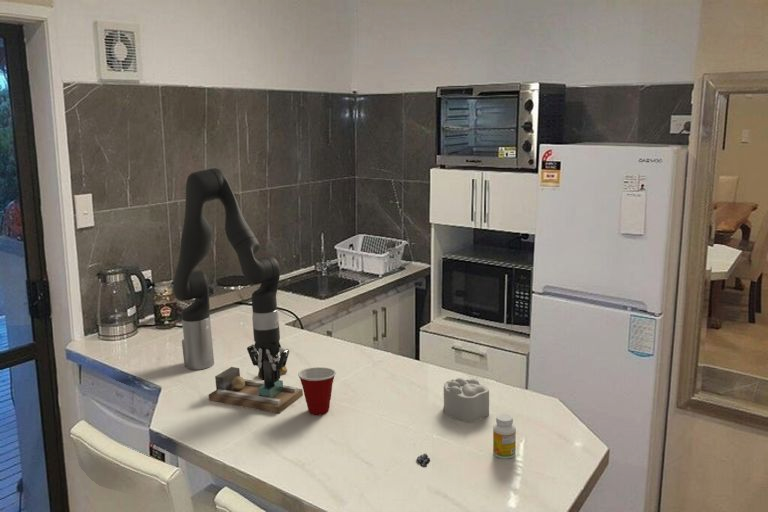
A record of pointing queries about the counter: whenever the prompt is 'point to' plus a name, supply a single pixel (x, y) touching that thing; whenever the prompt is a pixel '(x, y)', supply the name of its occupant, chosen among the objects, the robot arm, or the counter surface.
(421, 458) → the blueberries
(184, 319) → the robot arm
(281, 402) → the base
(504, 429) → the supplement bottle
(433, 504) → the counter surface
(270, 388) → the jaw
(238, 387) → the walnut
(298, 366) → the counter surface
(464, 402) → the lumpy-topped squat cylinder
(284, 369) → the pastry
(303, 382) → the plastic cup
